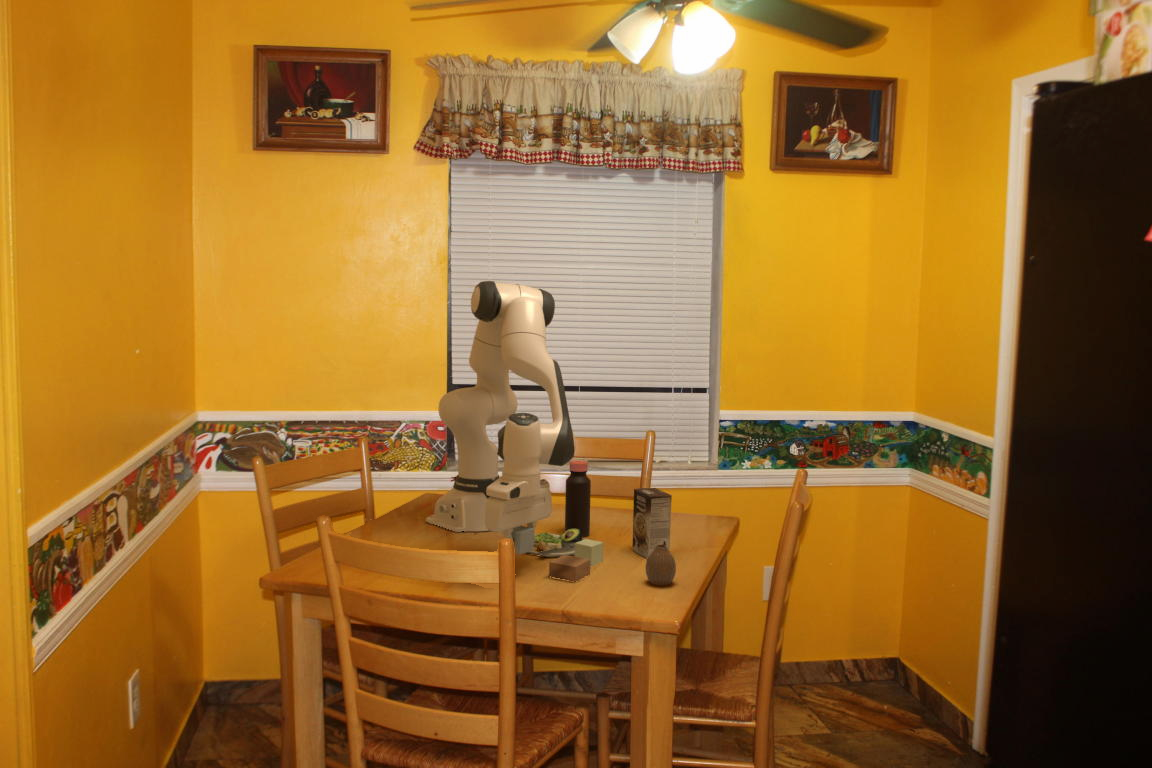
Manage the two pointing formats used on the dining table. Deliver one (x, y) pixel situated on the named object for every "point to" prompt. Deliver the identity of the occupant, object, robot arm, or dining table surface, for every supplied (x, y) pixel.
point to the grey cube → (523, 539)
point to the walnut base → (569, 568)
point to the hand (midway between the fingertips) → (518, 542)
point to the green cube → (589, 551)
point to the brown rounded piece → (660, 566)
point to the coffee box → (651, 520)
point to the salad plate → (557, 543)
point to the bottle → (578, 498)
